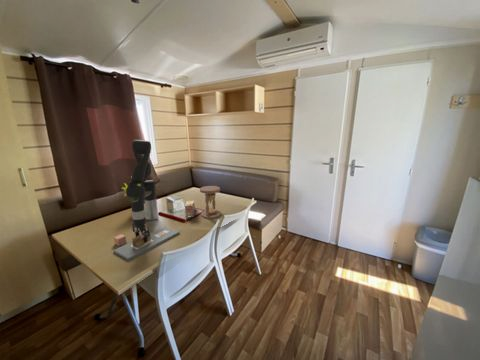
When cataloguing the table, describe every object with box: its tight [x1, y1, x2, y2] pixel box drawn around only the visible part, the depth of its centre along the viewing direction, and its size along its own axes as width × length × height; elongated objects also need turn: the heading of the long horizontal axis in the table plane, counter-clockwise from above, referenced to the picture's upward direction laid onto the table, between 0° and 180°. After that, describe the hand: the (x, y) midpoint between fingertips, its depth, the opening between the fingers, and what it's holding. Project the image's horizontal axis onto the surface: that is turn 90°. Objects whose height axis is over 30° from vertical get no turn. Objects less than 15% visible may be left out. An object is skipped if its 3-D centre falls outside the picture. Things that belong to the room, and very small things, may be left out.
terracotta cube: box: [113, 233, 127, 247], centre depth 134 cm, size 5×5×5 cm
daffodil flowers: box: [121, 175, 141, 203], centre depth 180 cm, size 17×15×35 cm
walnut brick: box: [131, 232, 151, 248], centre depth 131 cm, size 5×10×5 cm, turn 161°
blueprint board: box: [113, 226, 181, 262], centre depth 136 cm, size 16×38×2 cm, turn 148°
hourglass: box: [199, 185, 222, 220], centre depth 177 cm, size 18×18×25 cm
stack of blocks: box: [184, 200, 196, 218], centre depth 182 cm, size 21×6×12 cm, turn 9°
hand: (141, 240), depth 131 cm, fingers open, 8 cm apart
